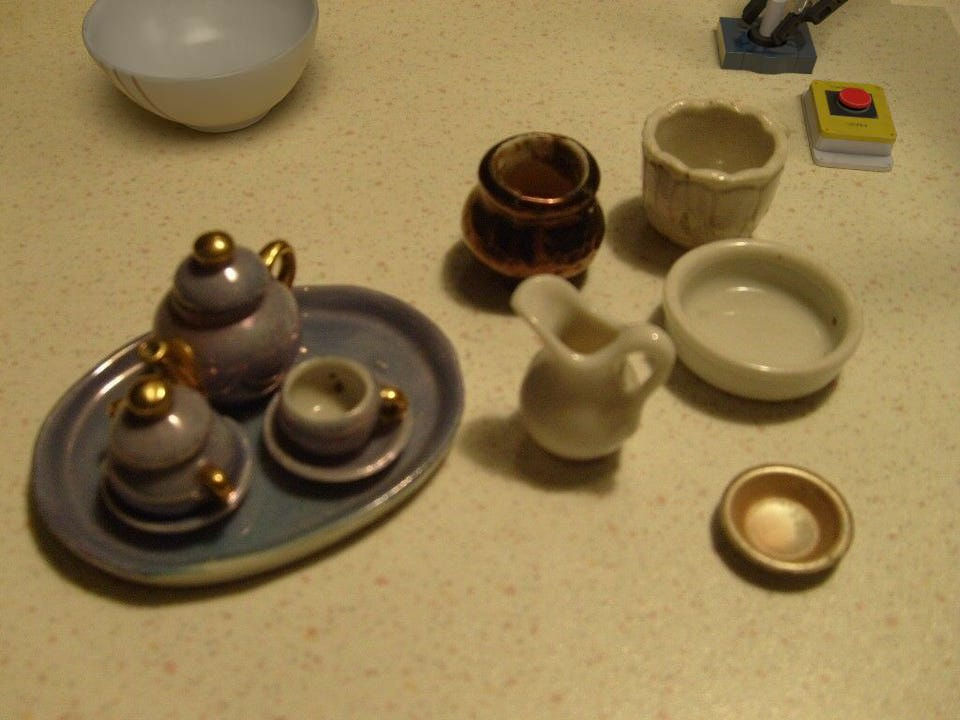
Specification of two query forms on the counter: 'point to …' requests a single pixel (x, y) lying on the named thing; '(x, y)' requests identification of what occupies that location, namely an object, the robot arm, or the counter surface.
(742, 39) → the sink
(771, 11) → the stopper
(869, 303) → the counter surface
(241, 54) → the decorative bowl
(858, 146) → the emergency button
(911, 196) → the counter surface
